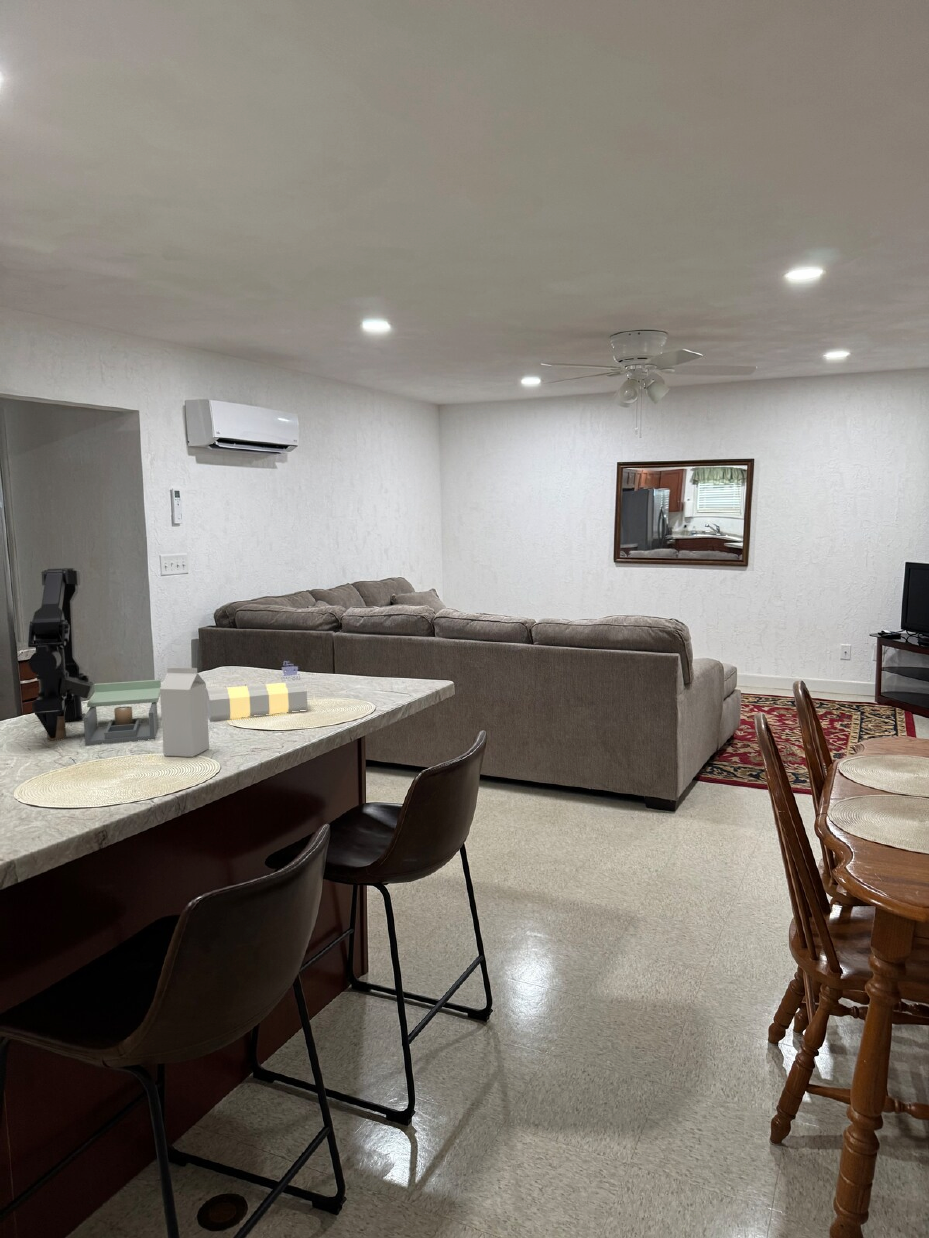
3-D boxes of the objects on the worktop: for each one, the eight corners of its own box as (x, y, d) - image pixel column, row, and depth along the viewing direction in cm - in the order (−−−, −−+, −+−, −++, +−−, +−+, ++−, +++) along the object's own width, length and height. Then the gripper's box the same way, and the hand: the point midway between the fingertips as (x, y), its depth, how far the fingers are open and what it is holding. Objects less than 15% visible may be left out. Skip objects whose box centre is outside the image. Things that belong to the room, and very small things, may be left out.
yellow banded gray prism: (299, 705, 234) (298, 659, 232) (307, 713, 224) (306, 664, 223) (206, 714, 224) (203, 666, 222) (210, 723, 215) (208, 672, 213)
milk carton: (193, 757, 182) (188, 671, 179) (163, 756, 183) (158, 670, 181) (209, 748, 189) (205, 665, 186) (180, 747, 190) (176, 664, 188)
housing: (93, 731, 206) (91, 705, 206) (158, 726, 211) (156, 700, 210) (85, 745, 193) (83, 717, 192) (154, 739, 197) (153, 712, 197)
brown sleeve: (49, 737, 201) (47, 716, 201) (67, 735, 202) (65, 715, 202) (46, 741, 198) (44, 720, 197) (64, 739, 199) (63, 719, 198)
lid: (95, 695, 216) (94, 683, 216) (161, 690, 221) (160, 679, 221) (87, 707, 202) (86, 695, 202) (157, 702, 207) (157, 690, 206)
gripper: (83, 672, 192) (87, 739, 193) (93, 660, 209) (98, 721, 211) (29, 676, 188) (34, 744, 190) (44, 663, 206) (49, 725, 208)
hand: (56, 733), depth 200 cm, fingers open, 9 cm apart
